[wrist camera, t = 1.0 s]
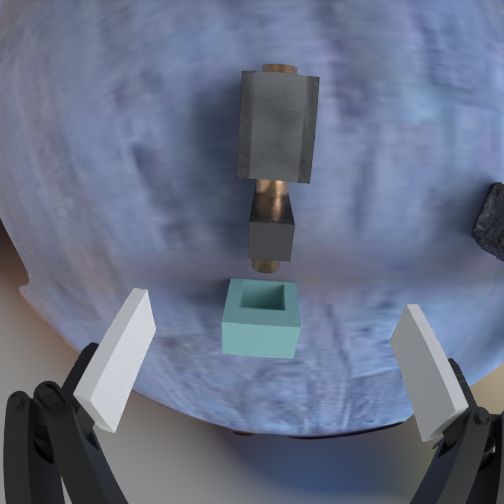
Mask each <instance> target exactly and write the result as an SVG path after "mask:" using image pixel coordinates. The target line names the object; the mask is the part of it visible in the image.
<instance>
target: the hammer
mask: <svg viewBox="0 0 504 504" xmlns="http://www.w3.org/2000/svg"><path fill="white" fill-rule="evenodd" d="M297 70H298V68H297V67H294V66H290V65H282V64H266V65H263V72H275V73H287V74H297ZM288 183H289V182H288V181H276V180H262V179H256V187H255V192H254V198H253V204H252V210H251V216H250V222H249V241H248V259H252V262H251V266H252V268H253V269H254V270H256V271H258V272H262V273H272V272H275V271H277V270H278V269H279V267H280V261H288V262H290V258H291V251H292V243H293V235H294V227H295V224H294V219H293V214H292V209H291V204H290V199H289V195H288Z"/></svg>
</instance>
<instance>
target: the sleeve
mask: <svg viewBox="0 0 504 504" xmlns="http://www.w3.org/2000/svg"><path fill="white" fill-rule="evenodd" d="M319 78H320V77H313V76H305V75H297V74H287V73H275V72H259V71H242V84H241V103H240V124H239V146H238V170H237V178H247V179H262V180H276V181H288V182H299V183H309V184H310V176H311V167H312V158H313V149H314V139H315V128H316V117H317V105H318V92H319Z"/></svg>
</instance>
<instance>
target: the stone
mask: <svg viewBox="0 0 504 504" xmlns="http://www.w3.org/2000/svg"><path fill="white" fill-rule="evenodd" d="M499 192H500V195H499ZM477 232H478V233H477ZM476 233H477V234H476ZM472 235H473V238H475V240H476V242H477V244H478V245H480V247H481V248H482V249H484V250H485V251H487V252H488V253H490V254H492V255H494V256H496V257H497V259H500V260H502V261H504V184H502V183H501V182H499V183H494V184H493V186H492V188H491V190H490V192H489V195H488V196H487V197H486V199H485V202H484V206H483V208H482V211H481V213H480V214H479V216H478V219H477V221H476V224H475V225H474V227H473V233H472Z"/></svg>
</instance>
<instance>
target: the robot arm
mask: <svg viewBox="0 0 504 504" xmlns="http://www.w3.org/2000/svg"><path fill="white" fill-rule="evenodd" d="M155 331H156V327H155V323H154V319H153V314H152V310H151V306H150V301H149V296H148V291H147V290H145V289H137V288H133V290H132V291H131V293H130V295H129V296H128V298H127V299H126V301H125V303H124V304H123V306H122V307H121V309H120V311H119V312H118V314H117V316H116V317H115V319H114V321H113V322H112V324H111V326H110V327H109V329H108V331H107V332H106V334H105V336H104V338H103V339H102V341H101V343H100V344H97V343H93V342H91V343H90V344H89V345H88V346H86V347H85V348H84V349H83V351H82V352H81V354H80V356H79V357H78V360H77V361H76V363H75V364H74V367H73V368H72V370H71V371H70V373H69V375H68V377H67V379H66V381H65V382H64V384H63V386H62V388H60V387H59V385H57V384H56V383H55V382H52V381H44V382H42V383H41V384H39V385H38V386H37V387H36V389H35V391H34V394H33V395H34V396H33V399H32V398H30V397H29V396H28V395H27V394H26V393H25V392H23V391H16V392H14V393H13V394H11V395H10V397H9V398H8V402H7V407H6V416H5V429H4V450H3V458H4V459H3V467H4V488H5V498H6V504H65V501H64V495H63V489H62V481H61V476H62V479H63V482H64V484H65V487H66V490H67V492H68V495H69V497H70V499H71V502H72V504H128V502H127V500H126V499H125V497H124V495H123V493H122V491H121V489H120V487H119V486H118V484H117V482H116V480H115V478H114V476H113V474H112V472H111V469H110V467H109V465H108V463H107V461H106V458H105V456H104V454H103V452H102V449H101V447H100V444H99V442H98V440H97V437H96V435H95V432H94V430H93V425H94V423H96V424H97V426H98V427H99V428H101V429H104V430H107V431H110V432H113V433H115V431H116V429H117V426H118V423H119V420H120V417H121V415H122V412H123V410H124V407H125V404H126V402H127V399H128V397H129V394H130V391H131V389H132V386H133V384H134V381H135V379H136V376H137V374H138V371H139V369H140V366H141V364H142V362H143V359H144V357H145V354H146V352H147V350H148V347H149V345H150V343H151V340H152V338H153V336H154V333H155ZM389 342H390V344H391V347H392V350H393V352H394V355H395V358H396V360H397V363H398V366H399V369H400V371H401V374H402V377H403V380H404V383H405V386H406V389H407V392H408V395H409V398H410V401H411V404H412V407H413V411H414V414H415V417H416V421H417V424H418V428H419V431H420V435H421V438H422V442H424V441H428V440H432V439H435V438H436V437H438V436H439V435H440V434H441V433H443V435H444V437H443V438H442V439H441V440H440V441H439V442H437V443H436V444H435V445H434V446H433V448H432V449H434V448H436V447H437V446H438V445H439V446H438V448H437V450H436V453H435V455H434V457H433V460H432V462H431V464H430V466H429V468H428V470H427V472H426V475H425V476H424V479H423V480H422V482H421V484H420V486H419V488H418V490H417V492H416V494H415V495H414V497H413V499H412V501H411V502H410V504H504V411H503V412H502V413H501V414H500V415H498V414H497V415H496V414H495V415H494V414H489V413H488V411H487V410H486V409H484V408H483V407H478V406H477V404H476V402H475V400H474V398H473V395H472V393H471V391H470V388H469V386H468V384H467V382H466V380H465V378H464V375H462V374H463V373H462V371H461V369H460V367H459V365H458V364H457V363H456V362H455V361H454V360H453V359H452V358H450V359H447V357H446V355H445V353H444V351H443V349H442V347H441V345H440V343H439V342H438V340H437V338H436V336H435V334H434V332H433V330H432V328H431V327H430V325H429V323H428V321H427V319H426V318H425V316H424V314H423V312H422V311H421V309H420V307H419V305H418V304H406V306H405V308H404V311H403V313H402V315H401V318H400V320H399V322H398V324H397V327H396V329H395V331H394V333H393V335H392V337H391V339H390V341H389ZM494 447H495V452H494V453H493V448H494Z"/></svg>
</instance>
